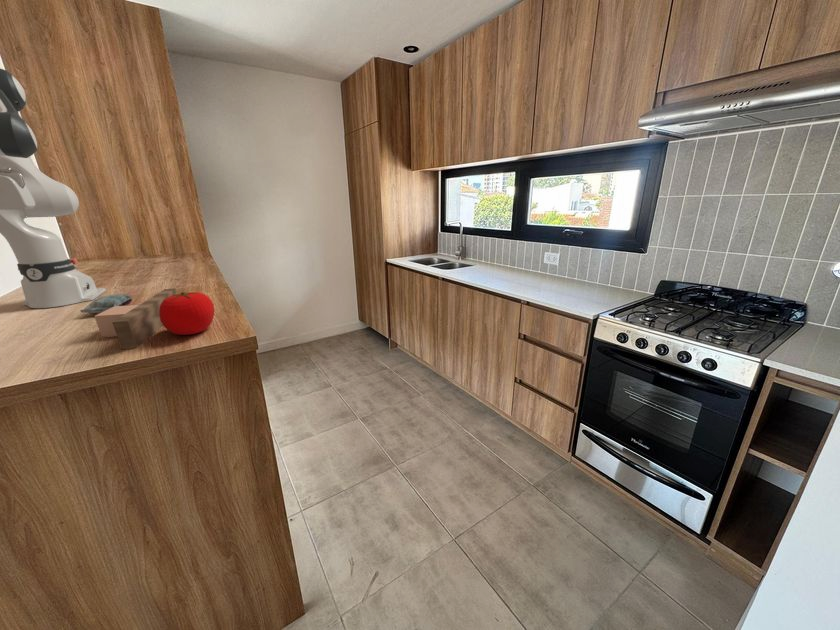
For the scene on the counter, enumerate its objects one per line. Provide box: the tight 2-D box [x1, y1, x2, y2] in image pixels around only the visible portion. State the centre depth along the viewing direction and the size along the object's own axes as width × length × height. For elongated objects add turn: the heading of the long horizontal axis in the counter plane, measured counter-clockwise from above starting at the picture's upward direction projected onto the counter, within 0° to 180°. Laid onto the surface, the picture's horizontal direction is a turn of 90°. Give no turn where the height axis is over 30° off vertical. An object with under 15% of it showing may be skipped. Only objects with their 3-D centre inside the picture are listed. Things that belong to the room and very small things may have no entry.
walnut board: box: [112, 288, 178, 350], centre depth 91 cm, size 30×3×7 cm, turn 17°
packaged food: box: [79, 293, 133, 315], centre depth 104 cm, size 9×12×5 cm
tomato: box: [159, 291, 215, 336], centre depth 87 cm, size 12×13×11 cm
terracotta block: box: [94, 304, 140, 338], centre depth 89 cm, size 8×8×6 cm
